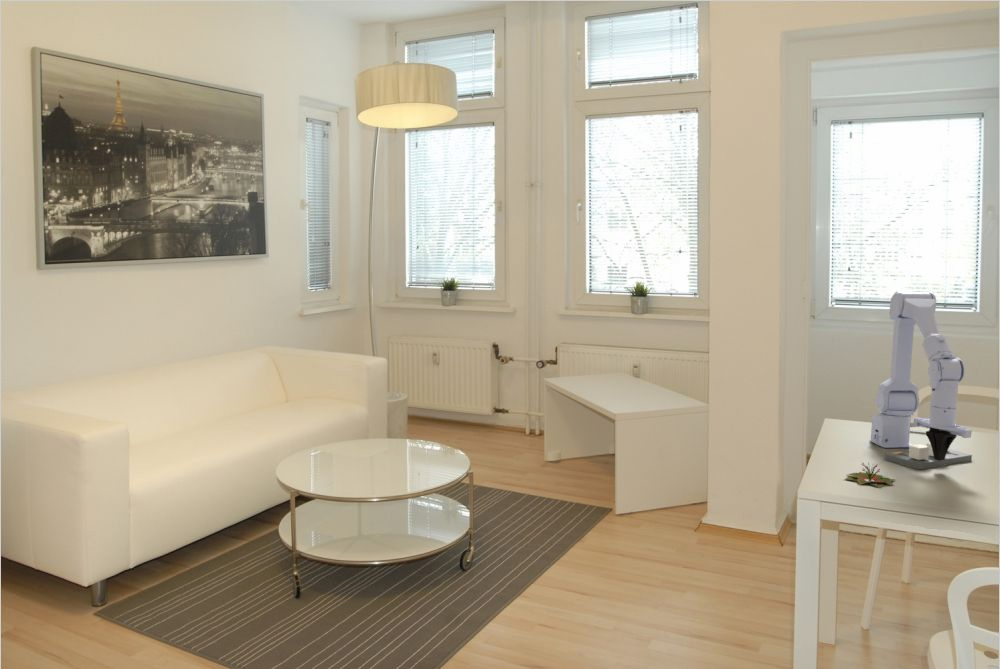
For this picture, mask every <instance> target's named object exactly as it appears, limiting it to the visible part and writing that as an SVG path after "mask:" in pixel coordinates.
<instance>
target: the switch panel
mask: <svg viewBox="0 0 1000 669" xmlns="http://www.w3.org/2000/svg"><path fill="white" fill-rule="evenodd" d="M972 456H973V455H972V454H969V453H966V452H965V453H964V452H961V451H957V450H954V449H950V448H948V451H947V453H946V456H945V459H944V460H940V461H938V460H935V459H934V456H930V455H929V458H928V459H921V460H918V459H914V458H911V457H909V450H905V451H903V450H902V451H897V452H896V451H895V452H891V453H885V461H889V462H893V463H896V464H899V465H903V466H906V467H909V468H913V469H916V470H923V469H930V468H936V467H942V466H947V465H954V464H959V463H966V462H972Z"/></svg>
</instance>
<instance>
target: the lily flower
mask: <svg viewBox="0 0 1000 669" xmlns="http://www.w3.org/2000/svg"><path fill="white" fill-rule="evenodd" d="M860 465H861V466H863V467H862V471H863V472H862V471H859V472H852V473H848V474H846V475H847V476H848V477H846V478H845V480H847V481H855V482H857V483H858V486H861V485H863V484H868V485H871V486H873V487H877V488H879V489H881V487H882V486H883V485H884V484H887V485H891V486H895V485H894V484H893V483H892V481H893V482H894V481H895V479H894V478H890V477H884V476H883V475H882V474H878V473H880V470H881V469H880V468H879V469H877V470H876V471H875V469H876V468H877V467H878V466H879V464H876V465H875V466H872V467H871V469H870V467H869V465H870V462H868V465H865V463H864V462H861V464H860ZM872 465H874V463H872ZM874 471H875V472H874ZM867 480H868V481H867ZM872 481H873V482H875V484H874V483H872ZM883 483H884V484H883Z"/></svg>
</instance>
